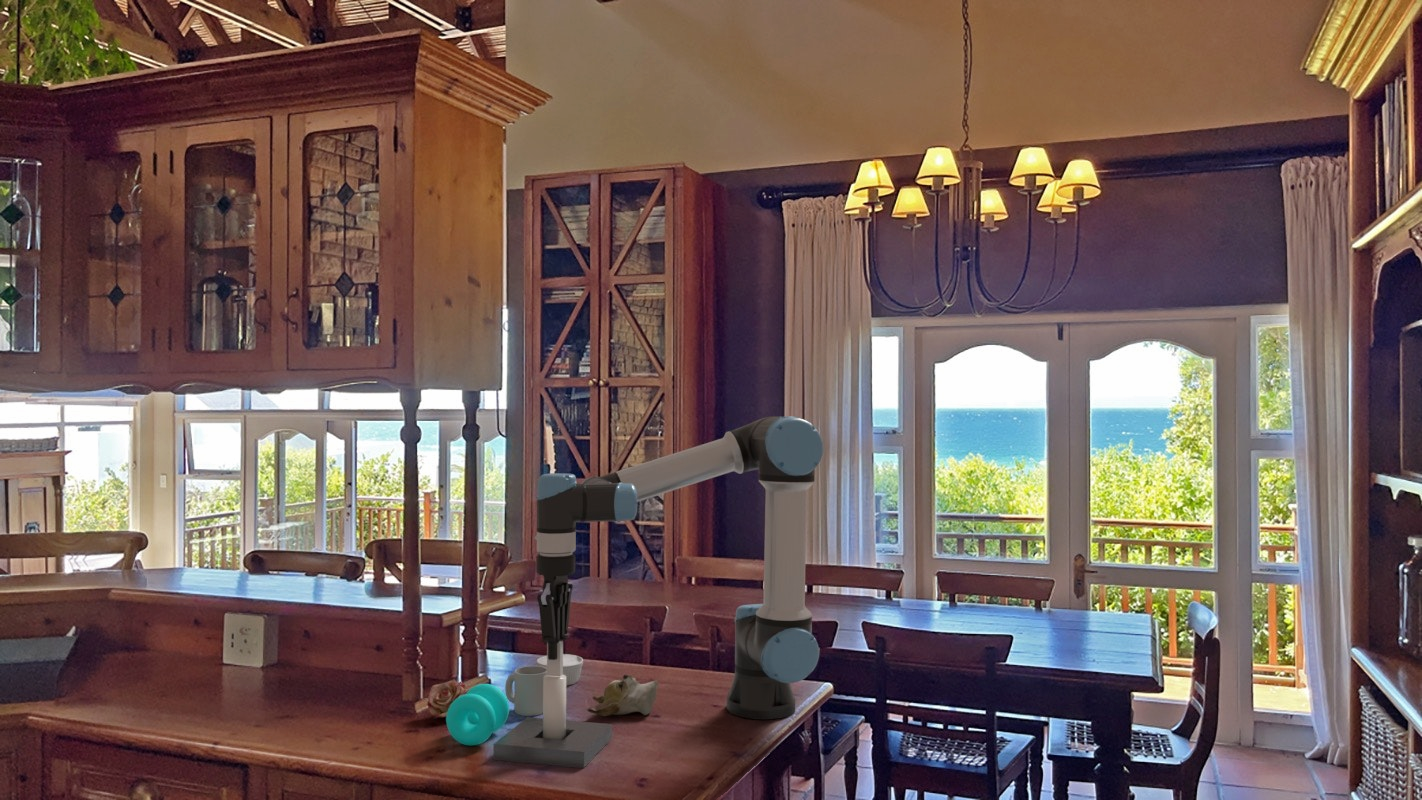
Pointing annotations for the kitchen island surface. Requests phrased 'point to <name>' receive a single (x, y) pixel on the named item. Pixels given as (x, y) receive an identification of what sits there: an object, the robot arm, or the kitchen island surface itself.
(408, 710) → the kitchen island surface
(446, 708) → the flower
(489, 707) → the turquoise yo-yo
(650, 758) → the kitchen island surface
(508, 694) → the cup
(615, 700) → the ceramic sculpture
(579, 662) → the ramekin
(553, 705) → the white tapered capsule
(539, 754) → the block
